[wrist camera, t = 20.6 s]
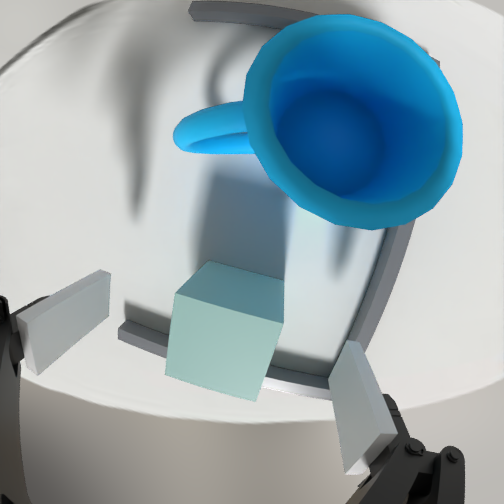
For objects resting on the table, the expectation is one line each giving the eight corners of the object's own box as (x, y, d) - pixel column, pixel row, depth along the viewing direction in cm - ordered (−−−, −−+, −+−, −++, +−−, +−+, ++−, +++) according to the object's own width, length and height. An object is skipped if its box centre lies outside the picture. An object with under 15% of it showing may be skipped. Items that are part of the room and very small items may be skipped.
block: (208, 260, 18) (175, 293, 12) (284, 280, 18) (283, 323, 12) (196, 325, 19) (165, 374, 13) (264, 344, 19) (255, 401, 13)
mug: (384, 88, 14) (441, 34, 6) (392, 211, 16) (466, 231, 8) (199, 91, 16) (142, 34, 8) (203, 214, 17) (141, 236, 10)
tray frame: (127, 330, 20) (117, 338, 19) (198, 11, 14) (192, 1, 13) (335, 389, 19) (338, 401, 18) (430, 68, 13) (439, 61, 12)
